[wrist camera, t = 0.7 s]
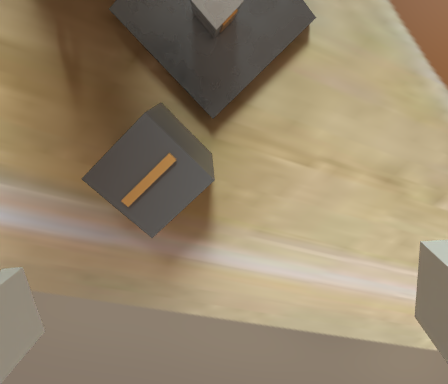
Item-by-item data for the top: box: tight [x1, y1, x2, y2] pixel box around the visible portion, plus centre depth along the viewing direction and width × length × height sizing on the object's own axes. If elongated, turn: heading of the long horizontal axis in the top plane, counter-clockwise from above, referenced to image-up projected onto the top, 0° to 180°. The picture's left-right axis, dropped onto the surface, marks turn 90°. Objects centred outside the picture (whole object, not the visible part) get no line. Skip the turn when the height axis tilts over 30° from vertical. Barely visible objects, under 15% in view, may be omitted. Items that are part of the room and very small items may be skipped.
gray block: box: [82, 103, 215, 238], centre depth 32 cm, size 8×8×10 cm
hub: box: [109, 0, 316, 118], centre depth 29 cm, size 14×14×8 cm
